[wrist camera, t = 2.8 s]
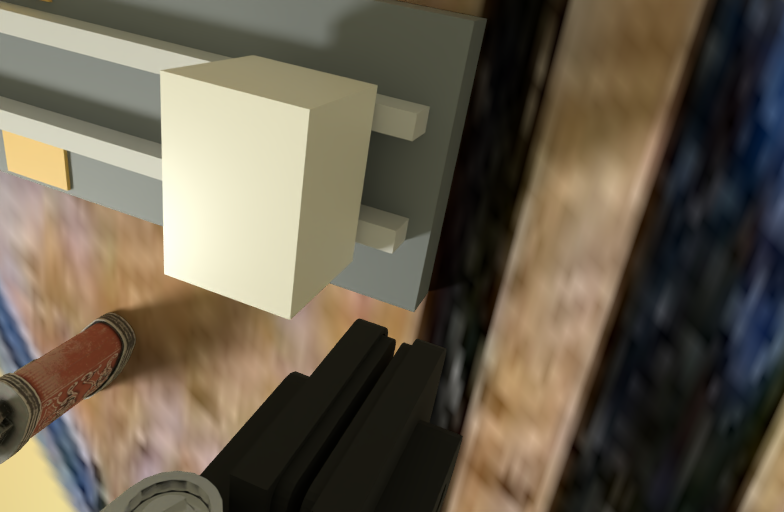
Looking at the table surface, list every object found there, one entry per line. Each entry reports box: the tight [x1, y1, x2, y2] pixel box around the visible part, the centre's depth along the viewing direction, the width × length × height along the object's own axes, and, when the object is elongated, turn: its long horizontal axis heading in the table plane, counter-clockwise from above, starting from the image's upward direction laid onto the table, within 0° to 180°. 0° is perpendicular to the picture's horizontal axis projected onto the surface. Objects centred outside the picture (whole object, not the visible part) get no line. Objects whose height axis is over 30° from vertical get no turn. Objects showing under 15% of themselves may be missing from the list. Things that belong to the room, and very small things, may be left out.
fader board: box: [0, 0, 487, 312], centre depth 27 cm, size 26×12×4 cm, turn 81°
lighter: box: [0, 313, 136, 464], centre depth 34 cm, size 8×3×10 cm, turn 139°
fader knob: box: [160, 55, 378, 320], centre depth 21 cm, size 5×7×6 cm
